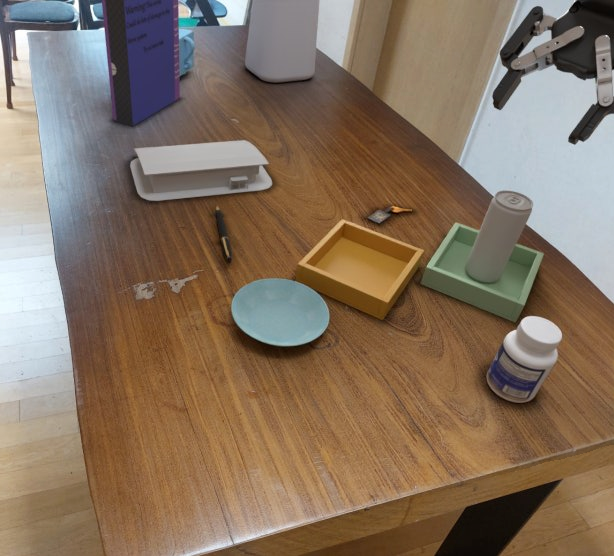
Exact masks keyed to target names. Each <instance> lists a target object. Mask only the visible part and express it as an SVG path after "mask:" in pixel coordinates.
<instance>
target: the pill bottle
mask: <svg viewBox="0 0 614 556" xmlns="http://www.w3.org/2000/svg"><path fill="white" fill-rule="evenodd" d="M562 339H563V334H562V331H561V329H560V328H559V326H557V325H556V323H554V322H553V321H551V320H549V319H547V318H544V317H541V316H538V315H537V316H536V315H535V316H534V315H528V316H526V317H524V318H522V319H521V321H520V323H519V324H518V326H517V327H516V329H514V330H511V331H510V332H509V333H506V335H505V337H504V339H503V341H502V343H501V345H500V346H499V349H498V350H497V352H496V355H494V359H493V360H492V363H491V364H490V366H489V368H488V370H487V372H486V381H487V384H488V386H489V388H490V389H491V390H492V392H494V393H495V395H497V396H498V397H500V398H501V399H504V400H506V401H509V402H510V403H516V404H517V403H519V404H523V403H528V402H530V401H532V400H533V399H534V398H535V397H536V395H537V394H538V392H539V391H540V389H541V387H542V386H543V385H544V382H545V381H546V379H547V378H548V376H549V374H550V373H551V371H552V370H553V368H554V367H555V365H556V363H557V361H558V358H559V352H558V349H557V348H558V346H559V344H560V343H561V341H562Z"/></svg>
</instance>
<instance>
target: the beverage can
mask: <svg viewBox="0 0 614 556" xmlns="http://www.w3.org/2000/svg"><path fill="white" fill-rule="evenodd" d="M533 207H534V202H533V200H532V199H531V198H530V197H529V196H527V195H525V194H523V193H522V192H518V191H513V190H499V191H497V192H496V193H495V194H494V197H493V198H491V201H490V204H489V206H488V209H487V211H486V213H485V215H484V218H483V220H482V224H481V226H480V228H479V229H478V230H479V233H478V235H477V238H476V240H475V243H474V245H473V248H472V250H471V253H470V255H469V257H468V260H467V262H466V265H465V268H466V271H467V273H468V274H469V276H470V277H472V278H473V279H475V280H477V281H479V282H483V283H492V282H495V281H497V280H499V279H500V277H501V275H502V273H503V271H504V268H505V266H506V264H507V262H508V260H509V258H510V256H511V253H512V251H513V249H514V247H515V245H516V244H518V241H519V239H520V238H521V235H522V233H523V231H524V229H525V227H526V225H527V223H528V220H529V218H530V216H531V214H532V212H533Z"/></svg>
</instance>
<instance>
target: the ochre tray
mask: <svg viewBox="0 0 614 556" xmlns="http://www.w3.org/2000/svg"><path fill="white" fill-rule="evenodd" d="M424 253H425V249H422V248H419V247H417V246H414V245H412V244H408V243H407V242H404V241H401V240H398V239H396V238H394V237H391V236H388V235H385V234H383V233H380V232H378V231H375V230H373V229H370V228H367V227H364V226H362V225H359V224H357V223H354V222H351V221H349V220H346V219H343V218H342V219H340V221H338V223H337V224H336V225H335V226H333V228H332V229H331V230H329V232H328V233H327V234H326V235H325V236H324V237H323V238H322V239H321V240H320V241H319V242H318V243H317V244H315V246H314V247H313V248H312V249H310V251H309V252H308V253H307V254H306V255H305V256H304V257H303V258H302V259H301V260H300V261H298V263H297V266H296V272H295V279H294V281H295V282H298V283H301V284H303V285H305V286H307V287H309V288H311V289H313V290H314V291H315V292H317V293H320V294H322V295H325V296H327V297H328V298H332V299H334V300H336V301H338V302H340V303H343V304H345V305H347V306H349V307H352V308H354V309H356V310H358V311H360V312H363V313H365V314H367V315H370V316H372V317H374V318H377V319H378V320H381V321H384V319H385V318H386V317H387V315H388V313H389V312H390V311H391V309H392V307H393V306H394V305H395V303H396V301H398V299H399V298H400V296H401V295H402V293H403V292H404V290H405V288H406V287H407V285H409V282H410V281H411V280H412V278H413V276H414V275H415V274H416V272H417V271H418V269H419V268H420V265H421V262H422V259H423V257H424Z"/></svg>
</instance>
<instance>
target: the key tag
mask: <svg viewBox="0 0 614 556" xmlns="http://www.w3.org/2000/svg"><path fill="white" fill-rule="evenodd" d="M388 212H392V213H394V214H399V213H403V212H404V213H405V212H406V213H408V212H409V213H410V212H413V209H410V208H401V207H398V206H396V205H395V206H394V205H392V206H389V207H387V208H385V210H384V211H383V210H381V209H378V210H376V211H375V212H374V213H372V214H371V215H369V216H368V217H367V220H370V221H371V222H374V223H376V224H378V225H380V224H381V223H384V221H386V220H387V219H388V218H390V217H391V215H392V214H390V213H388Z"/></svg>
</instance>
